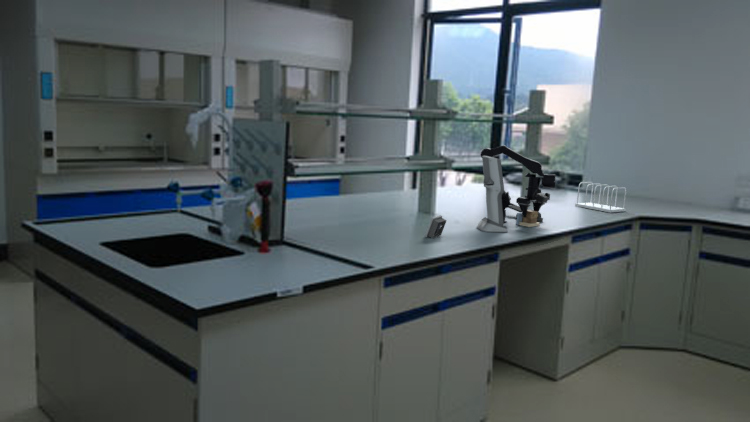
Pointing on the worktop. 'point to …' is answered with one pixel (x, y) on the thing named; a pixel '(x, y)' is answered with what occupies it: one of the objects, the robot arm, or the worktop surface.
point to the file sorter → (601, 206)
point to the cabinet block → (531, 217)
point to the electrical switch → (435, 227)
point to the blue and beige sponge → (520, 222)
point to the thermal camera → (493, 196)
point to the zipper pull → (521, 211)
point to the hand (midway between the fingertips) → (530, 216)
